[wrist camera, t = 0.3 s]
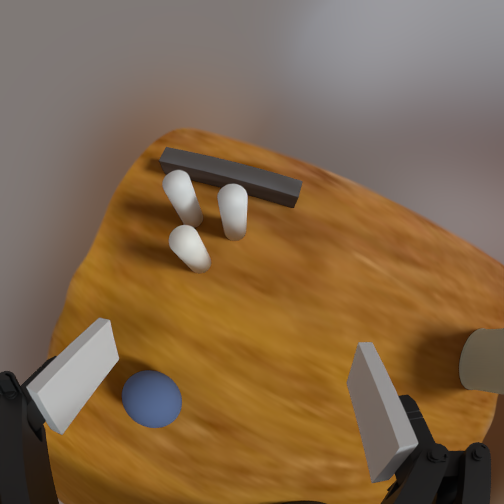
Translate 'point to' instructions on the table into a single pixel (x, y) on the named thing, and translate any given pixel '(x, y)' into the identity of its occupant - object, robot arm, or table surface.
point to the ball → (151, 399)
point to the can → (483, 361)
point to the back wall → (233, 175)
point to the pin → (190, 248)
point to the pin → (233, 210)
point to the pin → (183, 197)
